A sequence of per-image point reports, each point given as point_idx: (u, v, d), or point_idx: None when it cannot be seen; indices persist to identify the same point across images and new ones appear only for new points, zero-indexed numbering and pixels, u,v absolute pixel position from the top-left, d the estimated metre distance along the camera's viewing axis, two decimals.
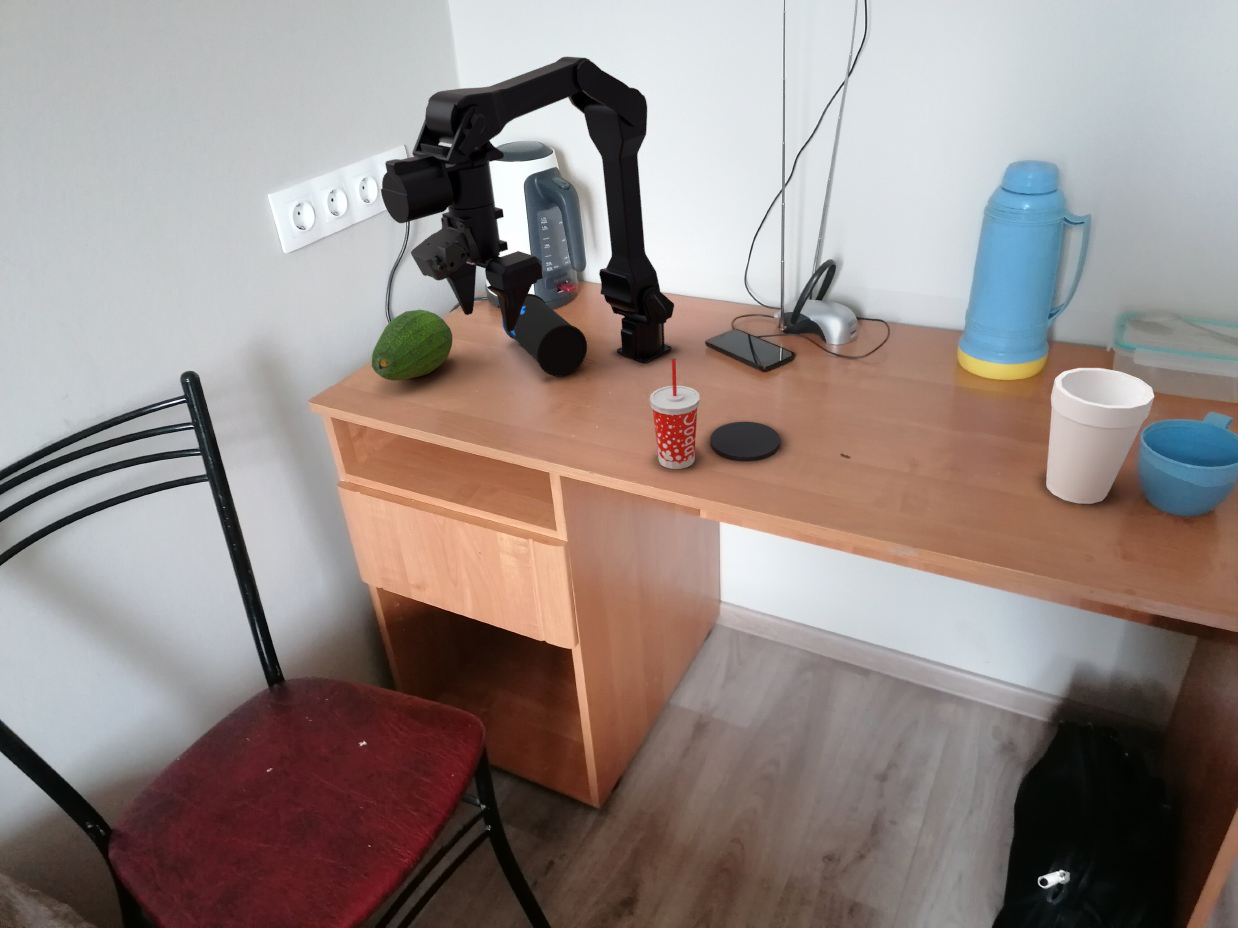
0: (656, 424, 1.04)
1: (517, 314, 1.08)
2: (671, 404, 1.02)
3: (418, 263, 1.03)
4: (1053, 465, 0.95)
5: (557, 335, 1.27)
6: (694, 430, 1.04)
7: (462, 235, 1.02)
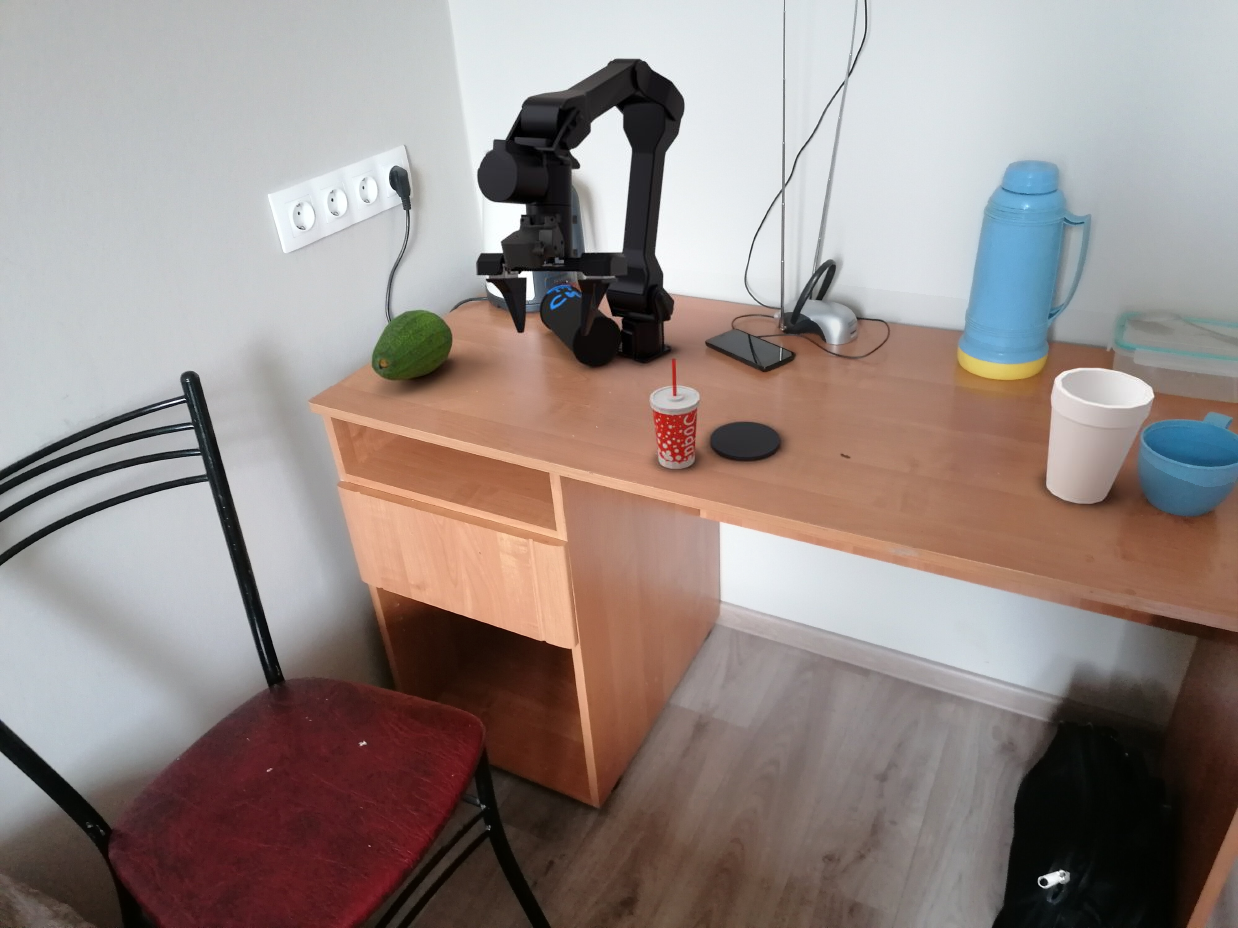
0: (656, 424, 1.04)
1: (593, 317, 1.07)
2: (671, 404, 1.02)
3: (510, 253, 0.99)
4: (1053, 465, 0.95)
5: (612, 336, 1.31)
6: (694, 430, 1.04)
7: None
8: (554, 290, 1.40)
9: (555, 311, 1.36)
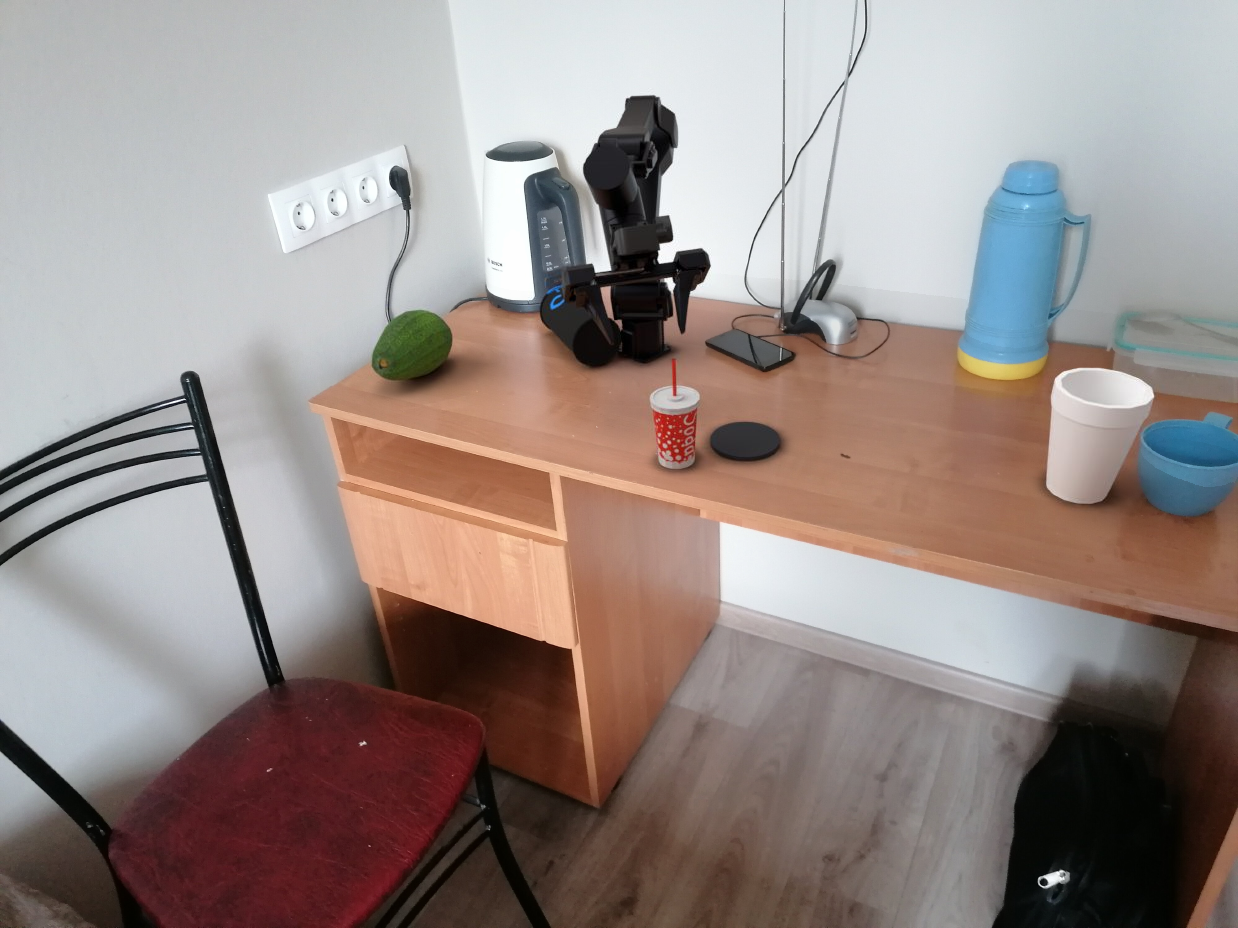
0: (656, 424, 1.04)
1: None
2: (671, 404, 1.02)
3: (631, 237, 1.01)
4: (1053, 465, 0.95)
5: None
6: (694, 430, 1.04)
7: None
8: (554, 290, 1.40)
9: (555, 311, 1.36)
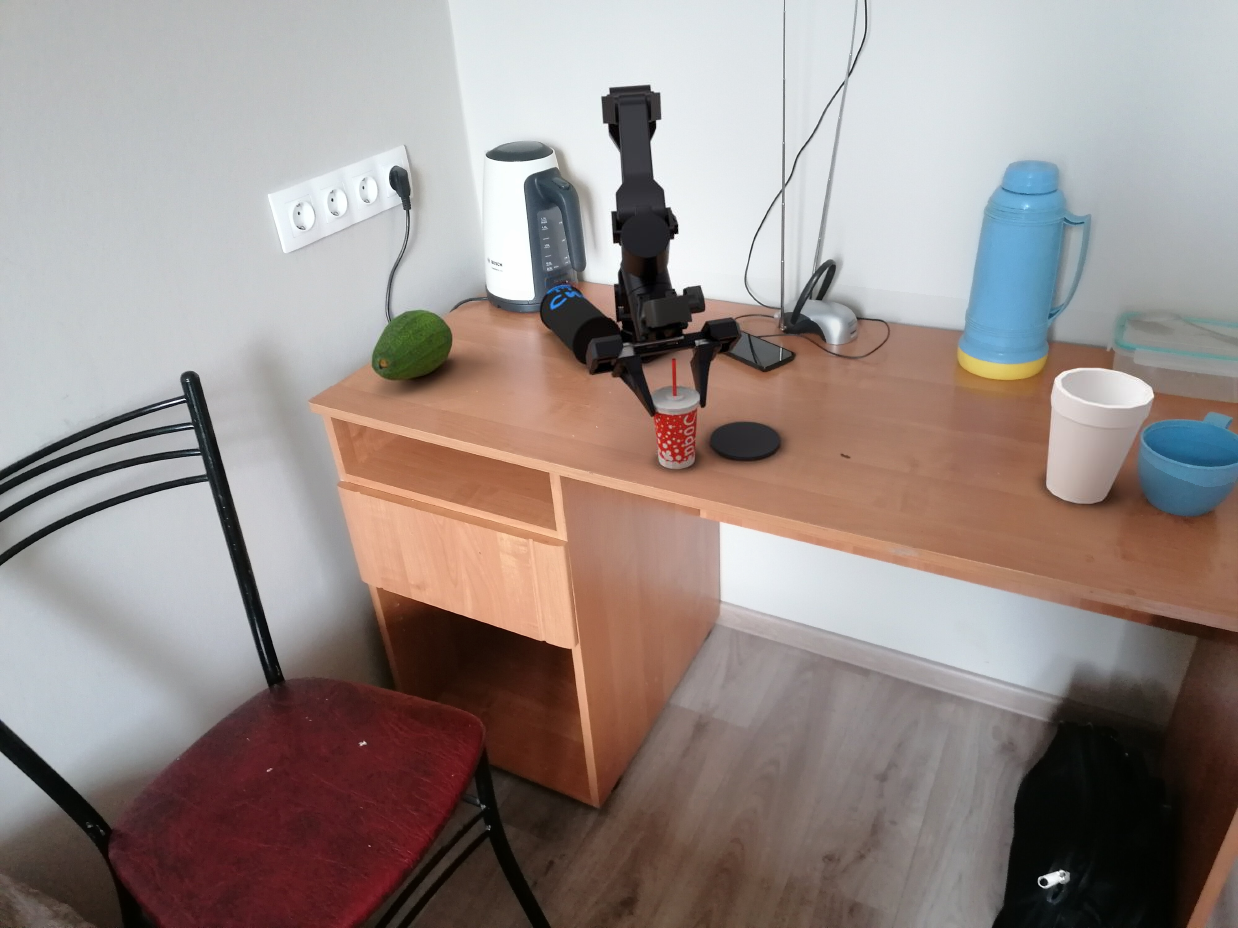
0: (656, 424, 1.04)
1: None
2: (671, 404, 1.02)
3: (663, 308, 0.97)
4: (1053, 465, 0.95)
5: None
6: (694, 430, 1.04)
7: None
8: (554, 290, 1.40)
9: (555, 311, 1.36)
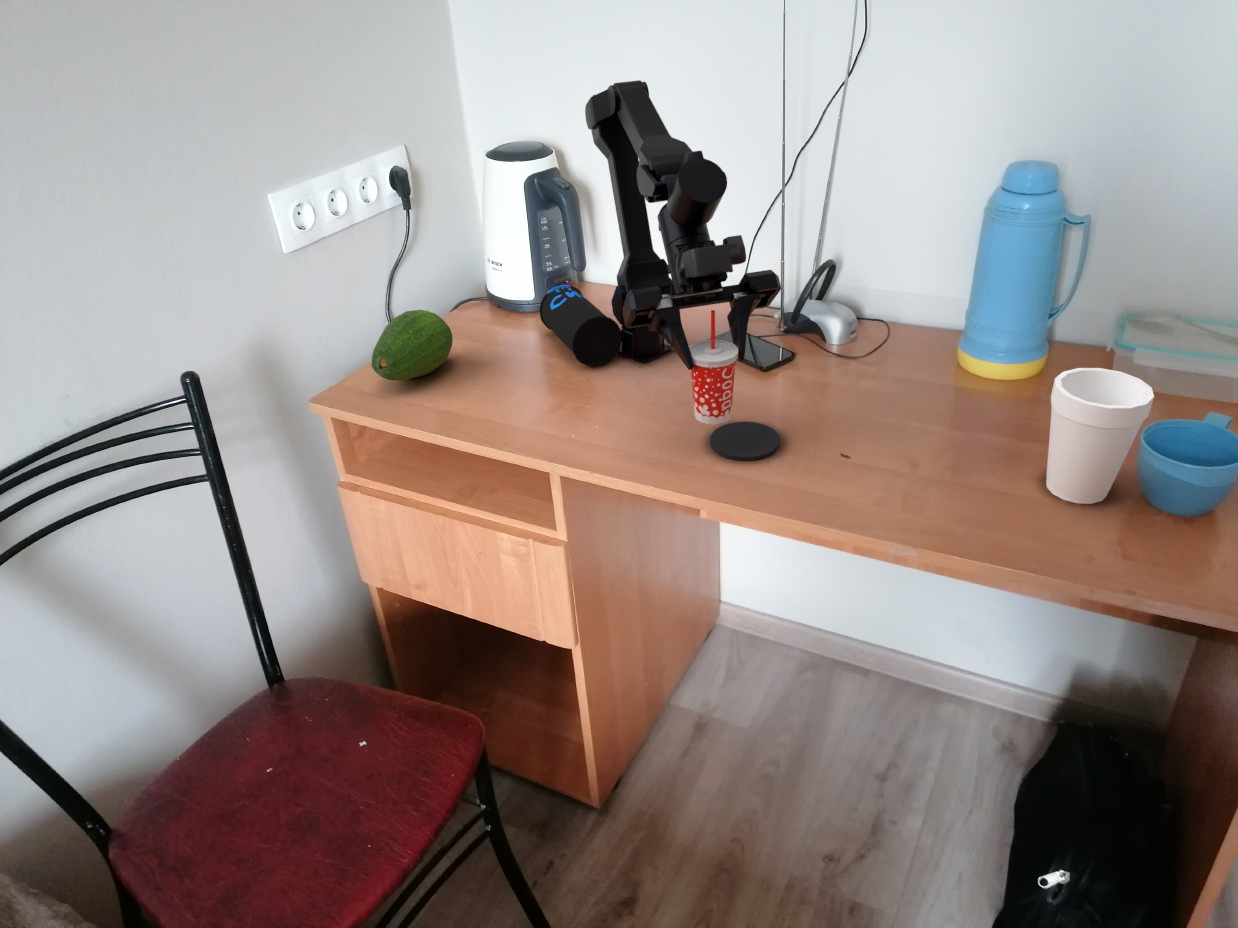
0: (693, 378, 1.03)
1: None
2: (710, 357, 1.01)
3: (704, 258, 0.96)
4: (1053, 465, 0.95)
5: (612, 336, 1.31)
6: (732, 384, 1.03)
7: None
8: (554, 290, 1.40)
9: (555, 311, 1.36)
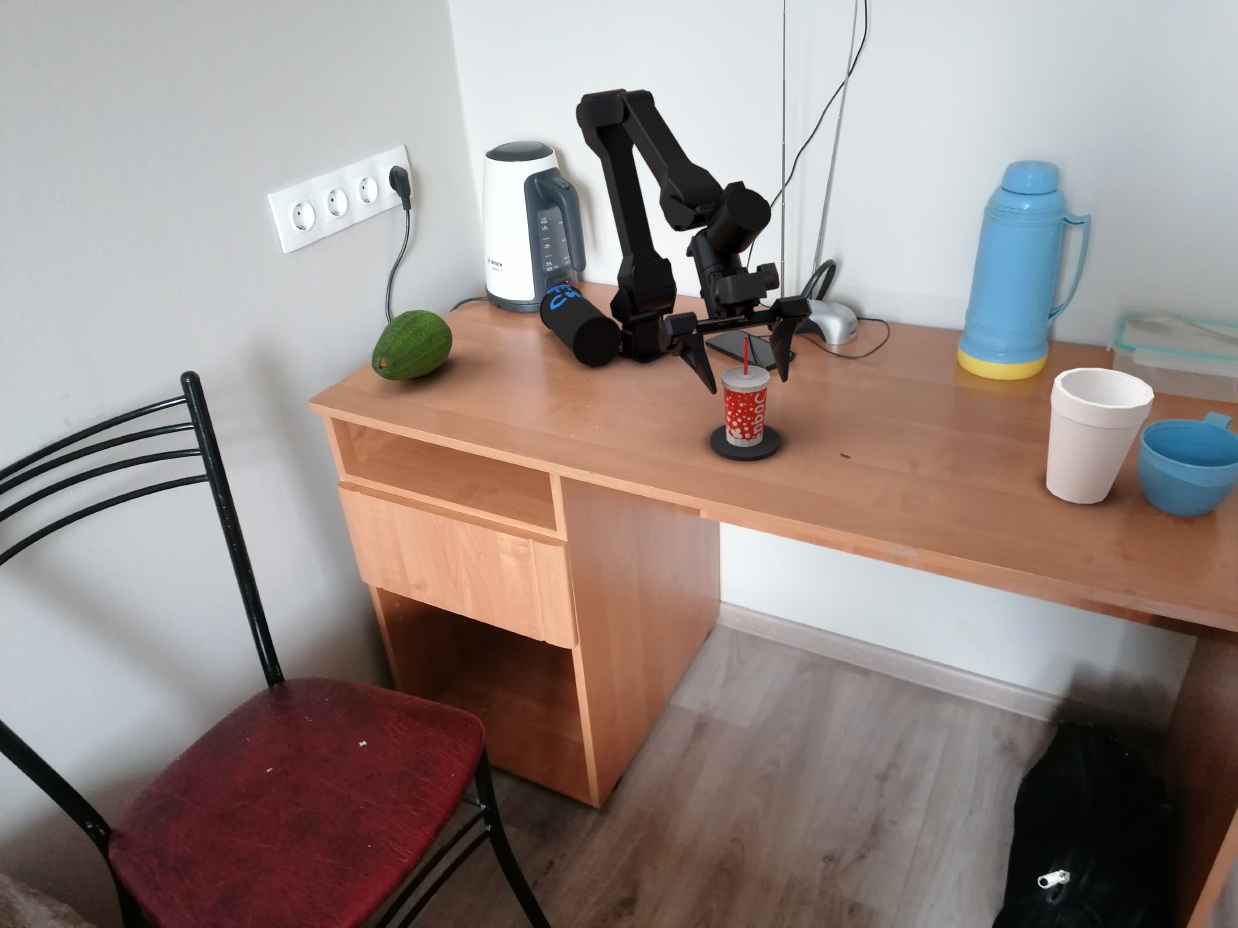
0: (726, 402, 1.07)
1: None
2: (743, 382, 1.04)
3: (740, 285, 0.99)
4: (1053, 465, 0.95)
5: (612, 336, 1.31)
6: (763, 408, 1.07)
7: None
8: (554, 290, 1.40)
9: (555, 311, 1.36)
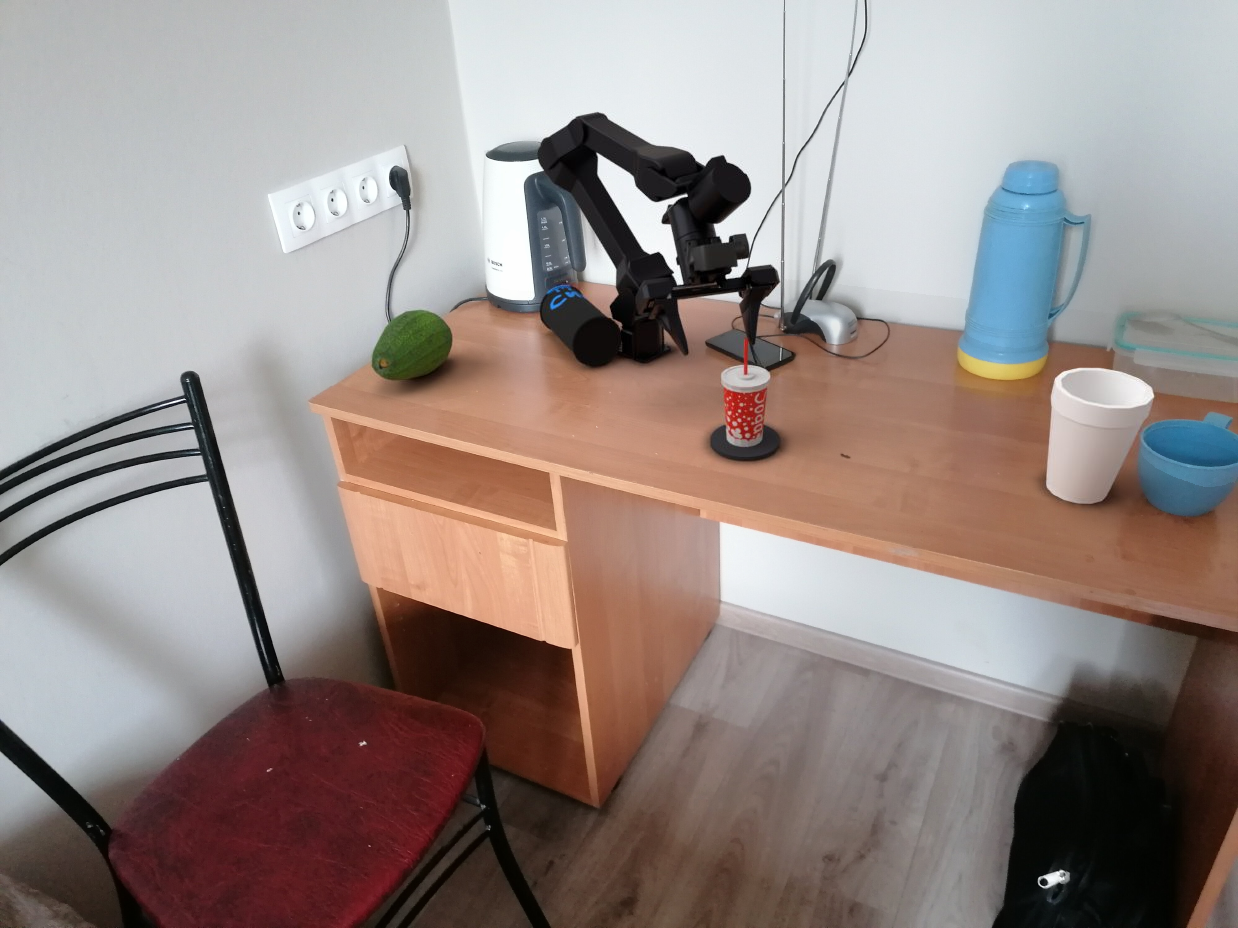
0: (726, 402, 1.07)
1: None
2: (743, 382, 1.04)
3: (712, 253, 1.06)
4: (1053, 465, 0.95)
5: (612, 336, 1.31)
6: (763, 408, 1.07)
7: None
8: (554, 290, 1.40)
9: (555, 311, 1.36)
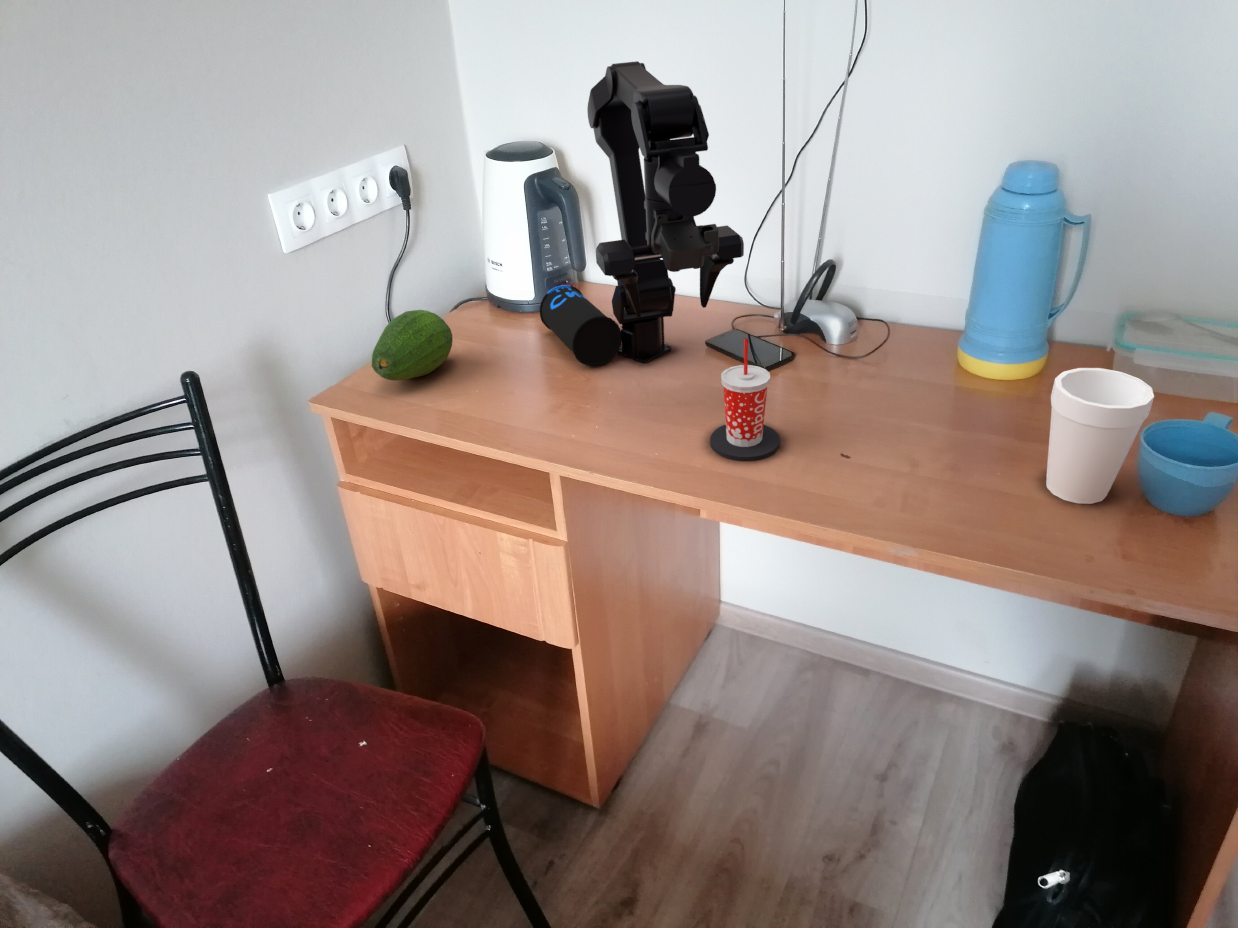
0: (726, 402, 1.07)
1: None
2: (743, 382, 1.04)
3: (680, 259, 1.03)
4: (1053, 465, 0.95)
5: (612, 336, 1.31)
6: (763, 408, 1.07)
7: (691, 222, 1.06)
8: (554, 290, 1.40)
9: (555, 311, 1.36)
